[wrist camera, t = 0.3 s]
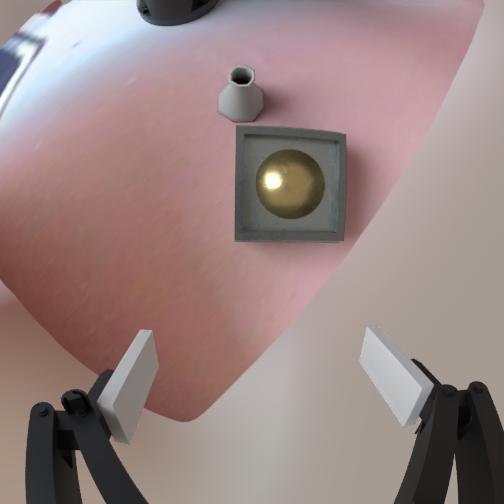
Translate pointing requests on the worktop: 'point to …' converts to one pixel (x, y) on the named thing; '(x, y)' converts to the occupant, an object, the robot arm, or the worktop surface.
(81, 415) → the robot arm
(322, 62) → the worktop surface
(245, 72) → the flask
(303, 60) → the worktop surface
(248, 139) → the grey boxy piece
